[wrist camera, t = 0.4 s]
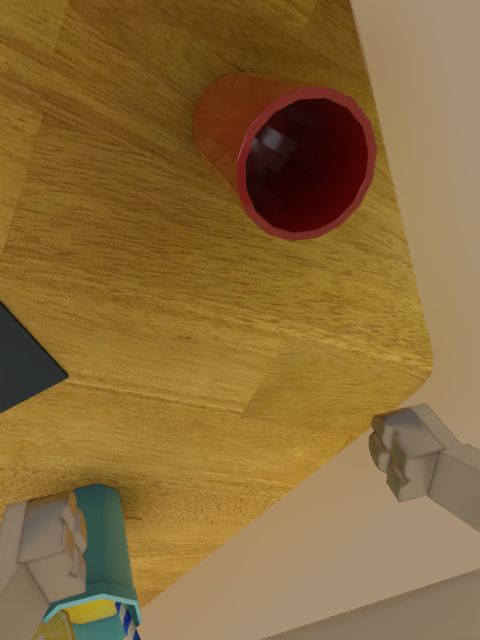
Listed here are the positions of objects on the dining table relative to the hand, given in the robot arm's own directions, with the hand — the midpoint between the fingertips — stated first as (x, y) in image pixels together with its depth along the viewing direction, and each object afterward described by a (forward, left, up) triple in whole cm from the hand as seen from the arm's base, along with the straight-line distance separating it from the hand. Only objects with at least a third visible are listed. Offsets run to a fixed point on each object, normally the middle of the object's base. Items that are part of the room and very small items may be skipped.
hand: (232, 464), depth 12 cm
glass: (-2, +7, -21) cm, 22 cm away
